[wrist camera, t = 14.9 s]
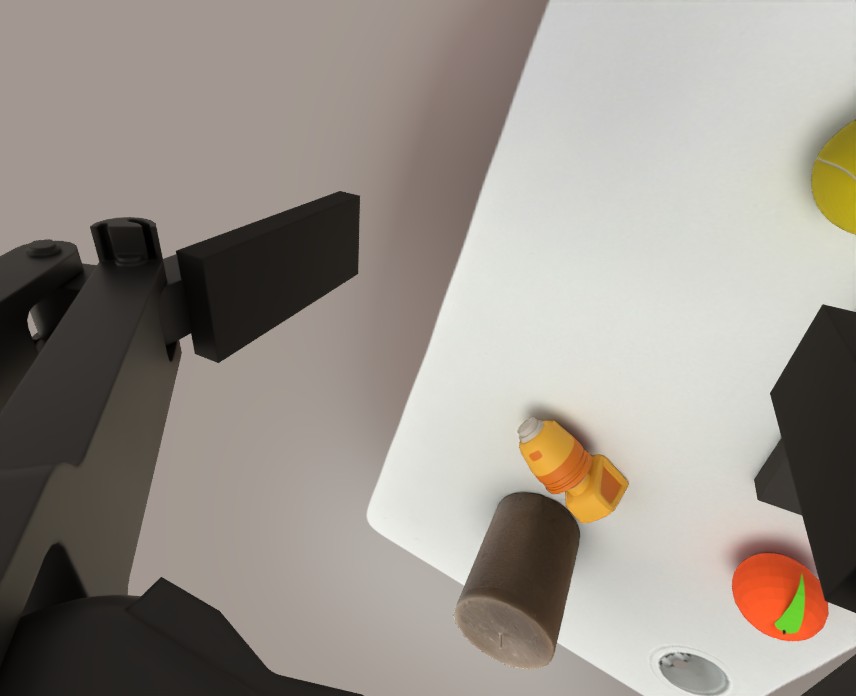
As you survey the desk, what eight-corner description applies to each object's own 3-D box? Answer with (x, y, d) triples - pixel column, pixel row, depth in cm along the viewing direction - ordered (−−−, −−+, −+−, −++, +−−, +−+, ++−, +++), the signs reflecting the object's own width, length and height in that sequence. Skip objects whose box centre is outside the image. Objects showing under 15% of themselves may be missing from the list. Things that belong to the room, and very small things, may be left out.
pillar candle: (569, 493, 52) (536, 619, 40) (588, 560, 56) (562, 695, 44) (485, 489, 57) (434, 601, 45) (507, 552, 60) (464, 670, 49)
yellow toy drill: (513, 419, 51) (589, 503, 52) (496, 452, 47) (580, 543, 47) (553, 396, 48) (633, 485, 48) (539, 428, 43) (628, 526, 44)
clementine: (747, 517, 45) (756, 582, 39) (838, 545, 43) (862, 618, 37) (719, 573, 49) (723, 638, 43) (800, 601, 47) (816, 674, 41)
